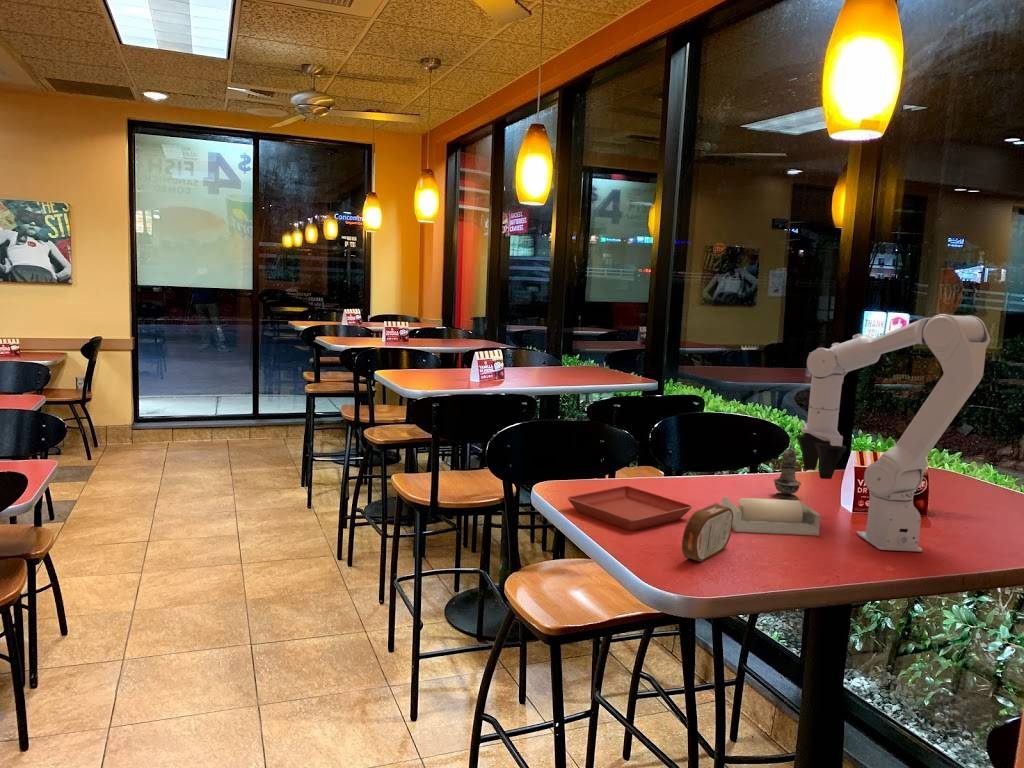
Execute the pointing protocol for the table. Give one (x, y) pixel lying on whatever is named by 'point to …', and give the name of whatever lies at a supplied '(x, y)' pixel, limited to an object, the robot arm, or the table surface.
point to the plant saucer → (629, 507)
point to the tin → (707, 532)
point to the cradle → (804, 528)
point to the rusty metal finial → (787, 477)
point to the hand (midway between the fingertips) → (817, 473)
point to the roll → (771, 510)
